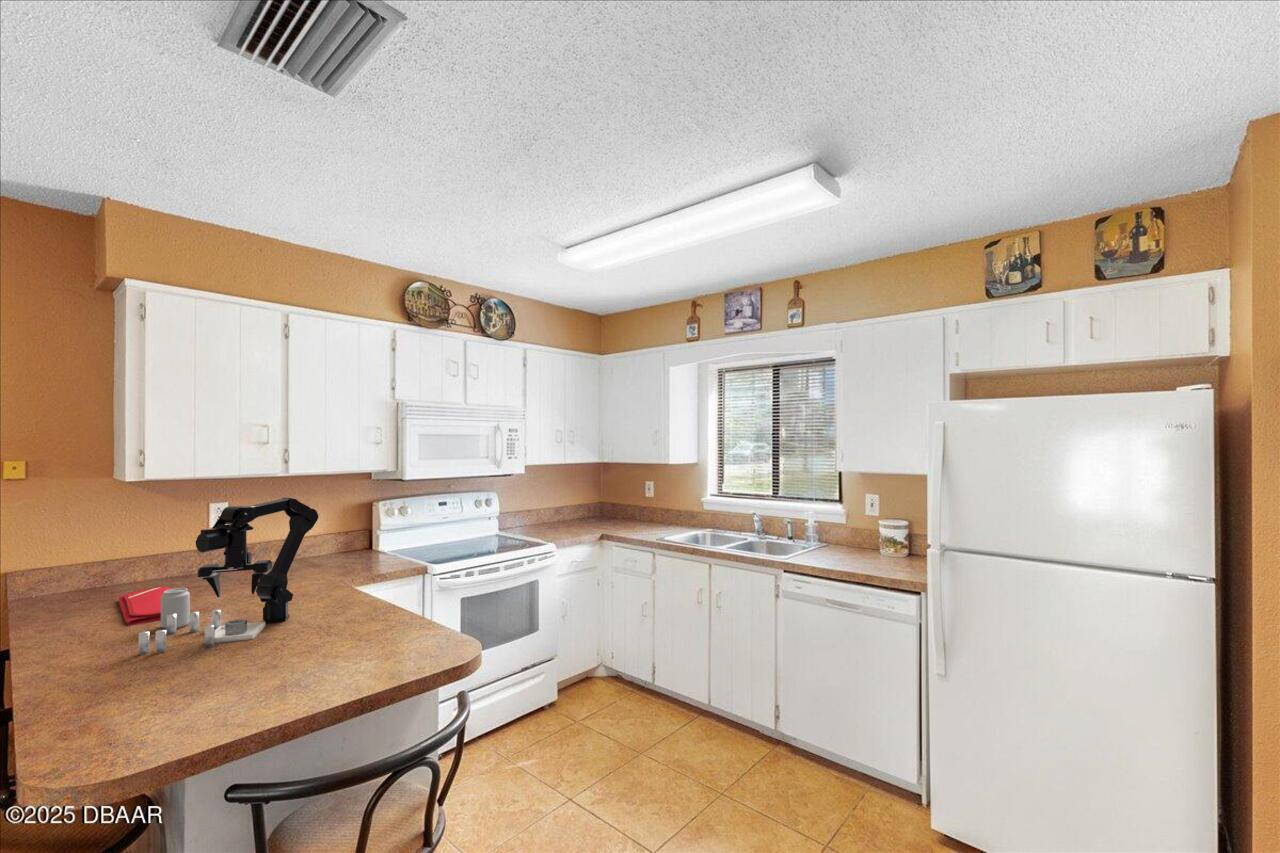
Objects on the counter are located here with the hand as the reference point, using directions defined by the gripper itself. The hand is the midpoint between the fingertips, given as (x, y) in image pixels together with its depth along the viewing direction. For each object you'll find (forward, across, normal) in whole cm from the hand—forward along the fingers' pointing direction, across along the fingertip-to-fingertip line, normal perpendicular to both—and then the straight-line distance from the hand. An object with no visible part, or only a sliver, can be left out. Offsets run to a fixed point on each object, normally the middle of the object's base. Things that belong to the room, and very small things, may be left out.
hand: (236, 595), depth 183 cm
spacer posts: (+12, +12, +2) cm, 17 cm away
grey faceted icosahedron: (+11, 0, +2) cm, 11 cm away
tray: (+12, 0, +2) cm, 12 cm away
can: (+12, +21, -15) cm, 29 cm away
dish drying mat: (+13, +39, -43) cm, 60 cm away
